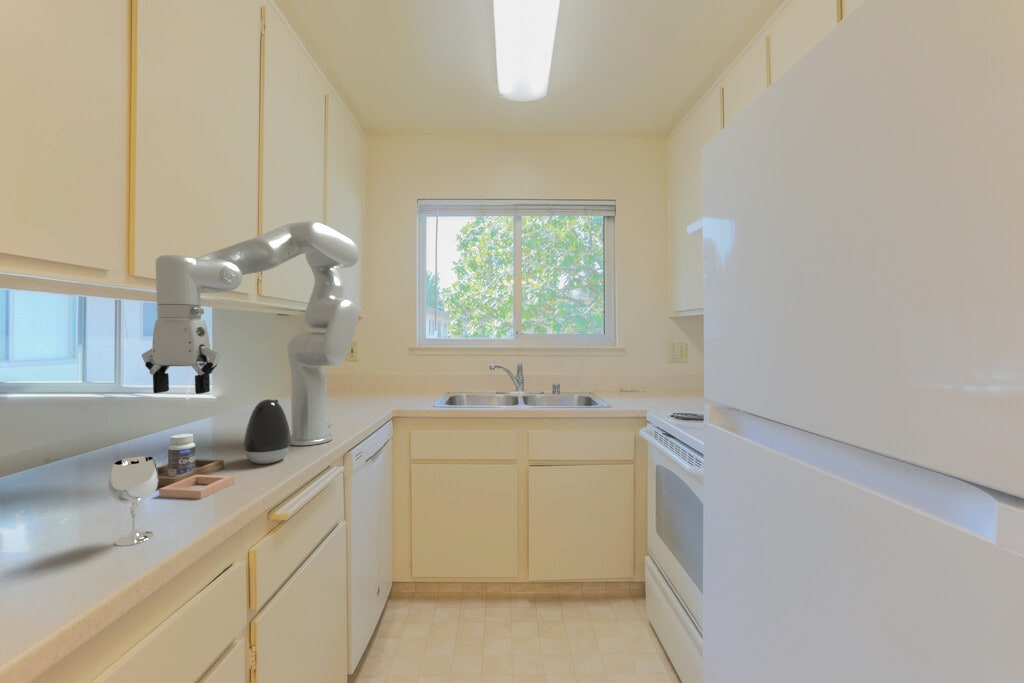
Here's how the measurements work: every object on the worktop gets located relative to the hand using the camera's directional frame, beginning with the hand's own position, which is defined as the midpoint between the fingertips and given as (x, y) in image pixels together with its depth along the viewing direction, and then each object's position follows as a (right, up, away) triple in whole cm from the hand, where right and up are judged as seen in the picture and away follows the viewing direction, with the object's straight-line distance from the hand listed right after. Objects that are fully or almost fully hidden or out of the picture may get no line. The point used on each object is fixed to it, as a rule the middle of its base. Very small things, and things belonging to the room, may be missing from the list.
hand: (181, 392), depth 94 cm
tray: (0, -18, 0) cm, 18 cm away
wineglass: (+14, -19, -28) cm, 37 cm away
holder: (+9, -19, -7) cm, 22 cm away
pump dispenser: (+12, -19, +12) cm, 25 cm away
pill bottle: (0, -18, 0) cm, 18 cm away
